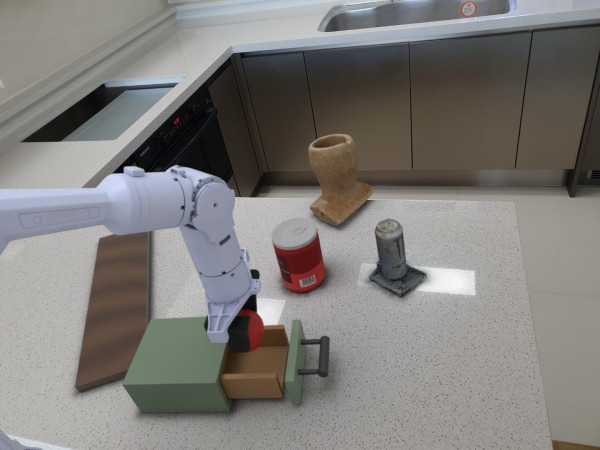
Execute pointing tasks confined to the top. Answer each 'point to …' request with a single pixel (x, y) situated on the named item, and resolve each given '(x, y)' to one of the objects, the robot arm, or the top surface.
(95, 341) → the board
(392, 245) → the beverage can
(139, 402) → the cabinet
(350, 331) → the top surface
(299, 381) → the drawer
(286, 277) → the canned food
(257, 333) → the apple
